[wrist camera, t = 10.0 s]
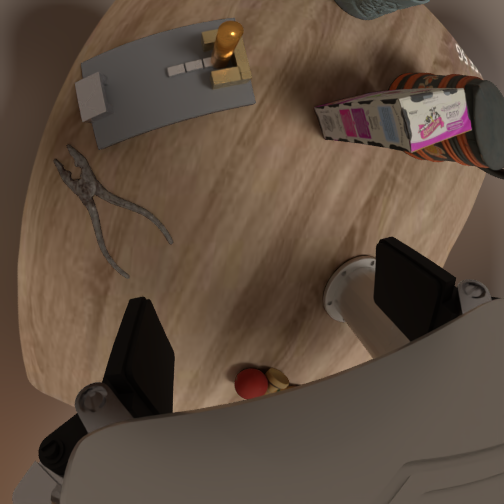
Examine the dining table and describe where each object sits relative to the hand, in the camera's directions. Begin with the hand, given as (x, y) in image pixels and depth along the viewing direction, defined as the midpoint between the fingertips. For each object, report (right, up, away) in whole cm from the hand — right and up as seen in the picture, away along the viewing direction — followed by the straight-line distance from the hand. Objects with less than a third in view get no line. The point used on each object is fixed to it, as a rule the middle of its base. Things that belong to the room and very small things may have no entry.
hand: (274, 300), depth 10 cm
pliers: (-21, +7, +21) cm, 30 cm away
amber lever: (-7, +23, +14) cm, 27 cm away
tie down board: (-11, +22, +15) cm, 29 cm away
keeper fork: (-4, +23, +15) cm, 28 cm away
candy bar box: (+13, +21, +21) cm, 32 cm away
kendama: (+3, -23, +39) cm, 46 cm away
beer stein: (+28, +23, +24) cm, 43 cm away
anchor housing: (-18, +19, +13) cm, 30 cm away
